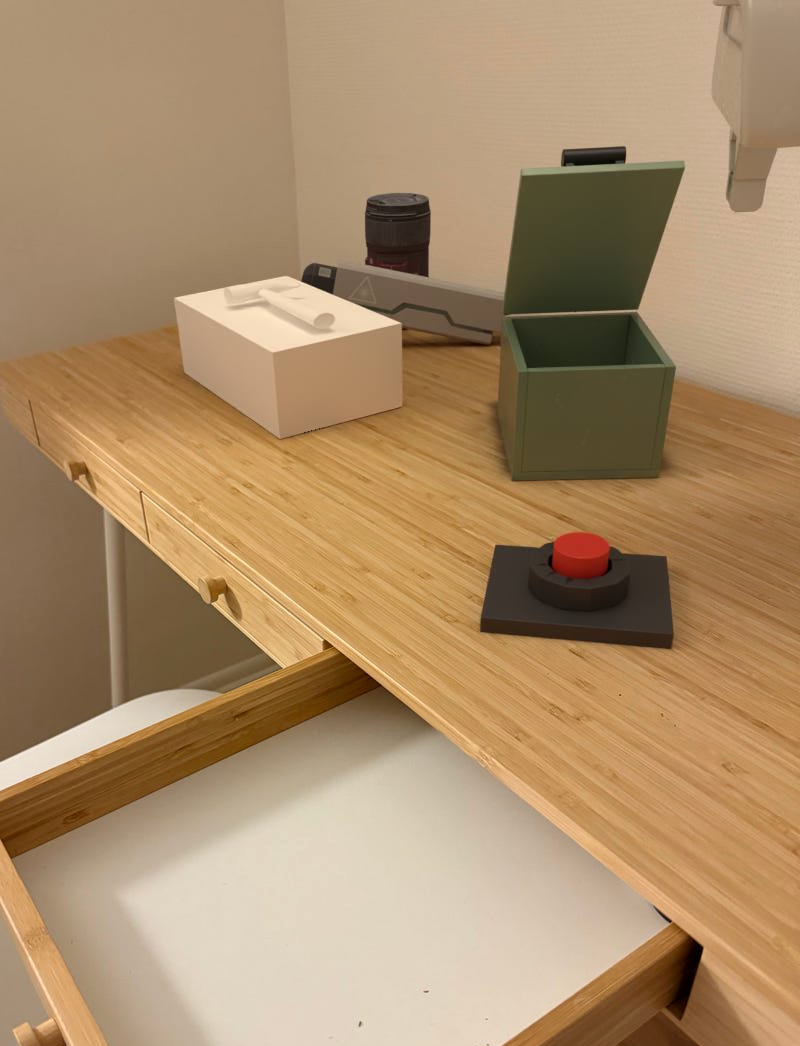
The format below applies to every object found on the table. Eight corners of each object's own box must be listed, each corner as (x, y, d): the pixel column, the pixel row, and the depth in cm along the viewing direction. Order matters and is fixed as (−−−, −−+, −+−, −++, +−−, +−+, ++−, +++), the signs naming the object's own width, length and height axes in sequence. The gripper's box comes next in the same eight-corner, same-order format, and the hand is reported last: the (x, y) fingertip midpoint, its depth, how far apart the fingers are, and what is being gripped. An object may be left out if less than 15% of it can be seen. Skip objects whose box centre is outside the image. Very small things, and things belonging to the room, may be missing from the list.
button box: (662, 582, 69) (670, 533, 66) (668, 662, 61) (678, 610, 59) (493, 569, 72) (496, 522, 69) (479, 645, 64) (481, 594, 61)
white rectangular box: (291, 348, 118) (285, 255, 112) (402, 406, 100) (401, 299, 94) (184, 372, 113) (170, 276, 107) (280, 439, 95) (270, 327, 88)
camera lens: (385, 335, 120) (383, 207, 112) (357, 320, 126) (352, 197, 118) (441, 324, 123) (443, 198, 114) (410, 310, 129) (410, 189, 121)
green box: (658, 477, 83) (676, 366, 77) (511, 480, 84) (518, 371, 78) (624, 411, 96) (637, 311, 90) (497, 414, 97) (502, 316, 91)
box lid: (685, 167, 74) (678, 121, 76) (521, 175, 76) (518, 129, 77) (638, 310, 90) (633, 268, 91) (502, 315, 91) (500, 273, 92)
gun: (293, 335, 118) (306, 252, 113) (491, 375, 119) (514, 293, 113) (290, 341, 116) (304, 257, 110) (492, 382, 117) (515, 299, 111)
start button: (607, 556, 65) (610, 533, 64) (606, 583, 62) (610, 560, 61) (553, 552, 66) (555, 530, 65) (550, 579, 63) (552, 556, 62)
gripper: (706, -69, 59) (677, 176, 67) (742, -72, 43) (699, 250, 51) (818, -81, 57) (775, 171, 65) (898, -88, 41) (829, 246, 49)
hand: (742, 206), depth 58 cm, fingers closed
